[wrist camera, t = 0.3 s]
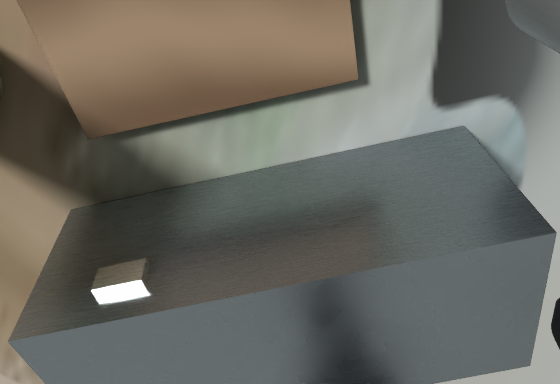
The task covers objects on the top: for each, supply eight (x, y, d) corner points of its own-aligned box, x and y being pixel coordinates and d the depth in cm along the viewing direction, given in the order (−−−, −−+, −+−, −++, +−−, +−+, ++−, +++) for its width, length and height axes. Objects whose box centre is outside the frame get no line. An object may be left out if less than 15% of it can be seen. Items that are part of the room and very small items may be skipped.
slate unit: (459, 250, 27) (529, 370, 21) (133, 315, 28) (103, 448, 22) (464, 118, 22) (558, 224, 16) (67, 203, 23) (2, 335, 17)
